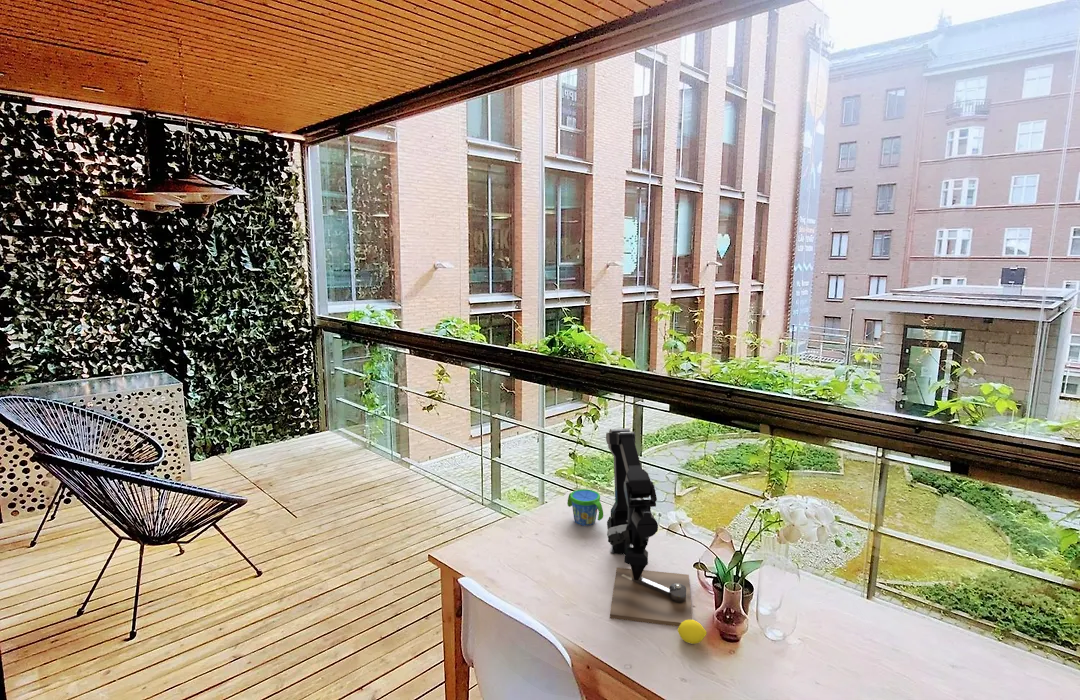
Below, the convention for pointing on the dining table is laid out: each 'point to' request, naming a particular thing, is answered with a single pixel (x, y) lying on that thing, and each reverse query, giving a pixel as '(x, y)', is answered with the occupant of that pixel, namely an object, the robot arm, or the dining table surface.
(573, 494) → the snack cup
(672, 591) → the lever
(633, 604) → the board
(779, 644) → the dining table surface
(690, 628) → the lemon
